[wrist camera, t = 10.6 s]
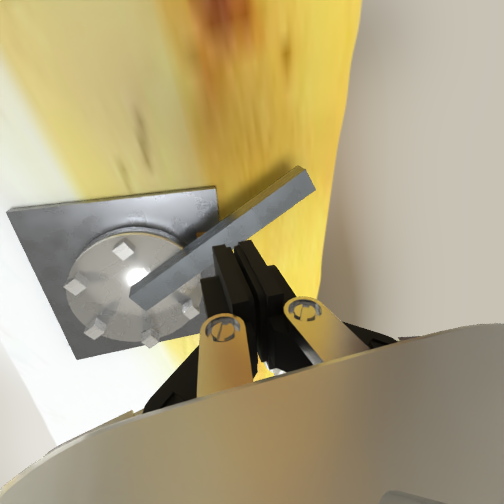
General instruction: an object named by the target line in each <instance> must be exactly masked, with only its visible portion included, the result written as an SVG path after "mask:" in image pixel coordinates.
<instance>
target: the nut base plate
mask: <svg viewBox="0 0 504 504" xmlns="http://www.w3.org/2000/svg"><path fill="white" fill-rule="evenodd" d="M6 213H7V215H8V218H9V220H10V222H11V224H12V226H13V228H14V230H15V232H16V234H17V236H18V238H19V241H20V243H21V245H22V247H23V249H24V251H25V253H26V255H27V257H28V259H29V261H30V263H31V266H32V268H33V270H34V272H35V274H36V276H37V278H38V280H39V282H40V284H41V286H42V289H43V291H44V293H45V295H46V297H47V299H48V301H49V303H50V305H51V307H52V309H53V311H54V314H55V316H56V318H57V320H58V322H59V324H60V326H61V328H62V330H63V332H64V334H65V337H66V339H67V341H68V343H69V345H70V347H71V349H72V351H73V353H74V355H75V357H76V359H77V360H79V359H83V358H88V357H92V356H97V355H102V354H106V353H111V352H115V351H120V350H125V349H129V348H134V347H138V346H143V345H144V344H143V343H141V341H140V342H127V341H119V340H114V339H110V338H107V337H104V336H102V335H101V336H99V337H98V338H96V339H95V340H94V339H92V338H90V337H89V336H87V335H86V334H84V331H85V328H86V326H85V325H83V324H82V323H81V322H80V321H79V320H78V318H77V317H76V316H75V315H74V313H73V312H72V310H71V308H70V306H69V303H68V300H67V295H66V289H65V288H64V285H65V283H66V281H67V278H68V275H69V273H70V270H71V268H72V267H73V265H74V263H75V261H76V260H77V258H78V256H79V255H80V253H81V251H82V250H83V249H84V248H85V247H86V246H87V245H88V244H89V243H90V242H91V241H92V240H94V239H96V238H97V237H99V236H100V235H103V234H105V233H107V232H109V231H112V230H116V229H120V228H125V227H147V228H153V229H157V230H161V231H163V232H166V233H168V234H170V235H172V236H174V237H176V238H177V239H179V240H180V241H182V242H183V243H184V244H185V245H186V246H187V245H189V244H190V243H192V242H193V241H194V240H196V239H197V238H199V237H200V236H201V235H203V234H204V233H205V232H207V231H208V230H210V229H211V228H212V227H214V226H215V225H216V224H218V223H219V213H218V203H217V193H216V188H215V186H213V187H204V188H195V189H186V190H177V191H168V192H159V193H150V194H140V195H131V196H122V197H113V198H104V199H95V200H86V201H77V202H68V203H59V204H49V205H40V206H31V207H22V208H13V209H10V210H8V211H7V212H6ZM200 273H201V278H207V277H213V276H216V275H215V267H214V263H213V264H212V265H210V266H209V267H207V268H206V269H205V270H203V271H202V272H200ZM199 310H200V313H199V314H198V315H196V316H195V317H194V318H192V319H191V320H189V321H188V322H187V323H186V324H185V325H183V326H182V327H181V328H179V329H178V330H176V331H174V332H173V333H171V334H168V335H166V336H164V337H161V338H159V342H161V341H166V340H171V339H175V338H180V337H184V336H189V335H194V334H198V333H200V330H201V326H202V325H203V323H204V322H205V321H206V320H207V318H206V312H205V307H204V302H203V296H202V298H201V302H200V304H199Z"/></svg>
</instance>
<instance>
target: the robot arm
mask: <svg viewBox="0 0 504 504" xmlns="http://www.w3.org/2000/svg"><path fill="white" fill-rule="evenodd" d="M212 252H213V259H214V267H215V275H216V276H213V277H207V278H202V279H200V284H201V290H202V296H203V302H204V307H205V312H206V318H207V320H206V321H205V322H204V323H203V325H202V326H201V330H200V341H199V346H198V347H197V348H196V349H195V350H194V351H193V352H192V353H191V354H190V355H189V356H188V358H187V359H186V360H185V361H184V362H183V363H182V364H181V365H180V366H179V367H178V369H177V370H176V371H175V372H174V373H173V374H172V375H171V376H170V377H169V378H168V379H167V381H166V382H165V383H164V384H163V385H162V386H161V387H160V388H159V389H158V390H157V391H156V393H155V394H154V395H153V396H152V397H151V398H150V400H149V401H148V402H147V404H146V405H145V407H144V409H142V410H140V411H138V412H136V413H133V410H131V411H129V412H127V413H125V414H123V415H121V416H119V417H117V418H114V419H112V420H110V421H108V422H106V423H104V424H102V425H100V426H98V427H96V428H94V429H92V430H90V431H88V432H85V433H83V434H81V435H79V436H77V437H75V438H73V439H71V440H69V441H67V442H65V443H63V444H61V445H59V446H57V447H56V448H54V449H52V450H51V451H49V452H48V453H47V454H46V455H45V456H44V457H43V458H42V459H40V460H38V461H37V462H35V463H33V464H32V465H30V466H29V467H28V468H26V469H25V470H23V471H22V472H21V473H19V474H18V475H17V476H15V477H14V478H13V479H12V480H10V481H9V482H8V483H7V484H6V485H4V486H3V487H2V488H1V489H0V504H504V324H498V323H496V324H477V325H470V326H463V327H458V328H454V329H449V330H445V331H440V332H436V333H432V334H428V335H424V336H415V337H398V339H397V341H396V340H394V339H393V338H391V337H389V336H386V335H383V334H380V333H377V332H374V331H371V330H367V329H364V328H361V327H358V326H354V325H351V324H348V323H345V322H342V321H340V320H339V319H338V318H337V317H336V316H335V315H334V314H333V313H332V312H331V311H330V310H329V309H328V308H327V307H326V306H325V305H323V304H322V303H321V302H320V301H318V300H316V299H314V298H311V297H296V295H295V294H294V292H293V291H292V289H291V288H290V286H289V285H288V283H287V282H286V280H285V279H284V278H283V276H282V275H281V273H280V272H279V270H278V269H277V267H276V266H275V265H271V266H267V265H266V263H265V262H264V260H263V258H262V257H261V255H260V254H259V252H258V250H257V249H256V247H255V246H254V244H253V242H252V241H251V240H247V241H241V242H238V245H237V246H234V253H233V251H232V249H231V247H226V245H225V244H223V245H217V246H212ZM257 352H258V353H257ZM258 355H259V357H260V360H261V362H267V365H268V368H269V370H272V369H275V368H277V369H280V370H282V371H283V374H280V375H276V376H273V377H269V378H265V379H262V380H258V381H255V382H253V378H254V377H255V375H256V374H257V372H258V371H257V364H258Z"/></svg>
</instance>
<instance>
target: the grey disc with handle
mask: <svg viewBox="0 0 504 504" xmlns="http://www.w3.org/2000/svg"><path fill="white" fill-rule="evenodd" d="M315 190H316V189H315V187H314V185H313V183H312V181H311V179H310V177H309V175H308V173H307V171H306V169H303V168H301V167H299V166H296V167H295V168H293V169H292V170H291V171H289V172H288V173H287V174H285V175H284V176H282V177H281V178H280V179H278V180H277V181H276V182H274V183H273V184H271V185H270V186H269V187H267V188H266V189H265V190H263V191H262V192H260V193H259V194H258V195H256V196H255V197H254V198H252V199H251V200H249V201H248V202H247V203H245V204H244V205H243V206H241V207H240V208H238V209H237V210H236V211H234V212H233V213H232V214H230V215H229V216H227V217H226V218H225V219H223V220H222V221H221V222H219V223H218V224H216V225H215V226H214V227H212V228H211V229H210V230H208V231H207V232H205V233H204V234H203V235H201V236H200V237H199V238H197V239H196V240H194V241H193V242H192V243H190V244H189V245H187V246H186V245H185V244H184V243H183V242H182V241H180V240H179V239H177V238H176V237H174V236H172V235H170V234H168V233H166V232H163V231H161V230H157V229H153V228H147V227H125V228H120V229H116V230H112V231H109V232H107V233H105V234H103V235H100V236H99V237H97V238H96V239H94V240H92V241H91V242H90V243H89V244H88V245H87V246H86V247H85V248H84V249H83V250H82V251H81V253H80V255H79V256H78V258H77V260H76V261H75V263H74V265H73V267H72V268H71V270H70V273H69V275H68V278H67V281H66V283H65V285H64V288H65V289H66V295H67V300H68V303H69V306H70V308H71V310H72V312H73V313H74V315H75V316H76V317H77V318H78V320H79V321H80V322H81V323H82V324H83V325H85V326H86V328H85V331H84V334H86V335H87V336H89V337H90V338H92V339H94V340H95V339H96V338H98V337H99V336H101V335H102V336H104V337H107V338H110V339H114V340H119V341H127V342H140V341H141V343H143V344H144V345H146V346H147V347H148V348H151V347H153V346H154V345H155V344H157V343H158V342H159V338H161V337H164V336H166V335H168V334H171V333H173V332H174V331H176V330H178V329H179V328H181V327H182V326H183V325H185V324H186V323H187V322H188V321H189V320H191V319H192V318H194V317H195V316H196V315H198V314H199V313H200V310H199V304H200V302H201V298H202V290H201V284H200V279H202V278H201V273H200V272H202V271H203V270H205V269H206V268H207V267H209V266H210V265H212V264H213V263H214V259H213V252H212V246H217V245H223V244H225V245H226V247H231V249H232V250H233V249H234V246H237V245H238V242H241V241H245V240H246V239H248V238H249V237H251V236H252V235H253V234H255V233H256V232H258V231H259V230H260V229H262V228H263V227H265V226H266V225H267V224H269V223H270V222H272V221H273V220H274V219H276V218H277V217H279V216H280V215H281V214H283V213H284V212H286V211H287V210H288V209H290V208H291V207H292V206H294V205H295V204H297V203H298V202H299V201H301V200H302V199H304V198H305V197H306V196H308V195H309V194H311V193H312V192H313V191H315Z"/></svg>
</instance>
